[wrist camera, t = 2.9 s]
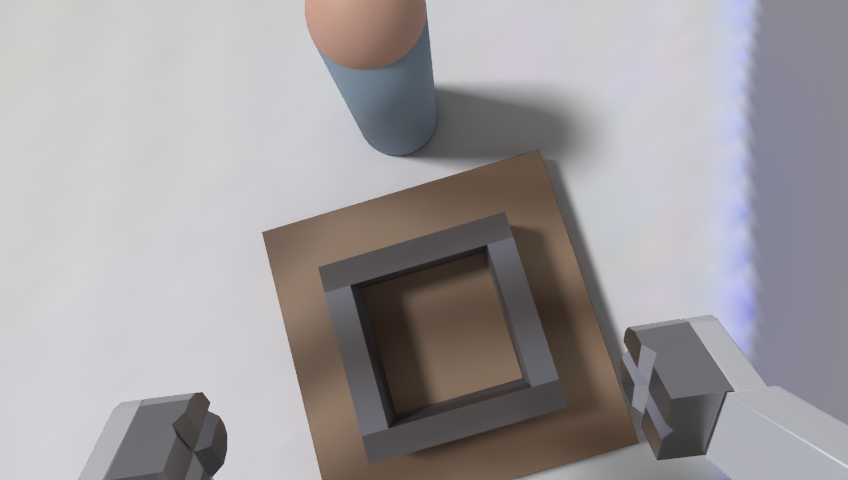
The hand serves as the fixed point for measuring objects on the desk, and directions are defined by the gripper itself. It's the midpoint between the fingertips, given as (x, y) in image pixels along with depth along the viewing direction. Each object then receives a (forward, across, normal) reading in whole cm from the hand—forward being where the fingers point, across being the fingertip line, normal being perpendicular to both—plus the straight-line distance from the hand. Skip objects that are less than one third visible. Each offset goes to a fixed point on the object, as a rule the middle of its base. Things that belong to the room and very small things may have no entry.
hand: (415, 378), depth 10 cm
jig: (+12, 0, +12) cm, 17 cm away
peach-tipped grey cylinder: (+21, 0, +3) cm, 21 cm away
